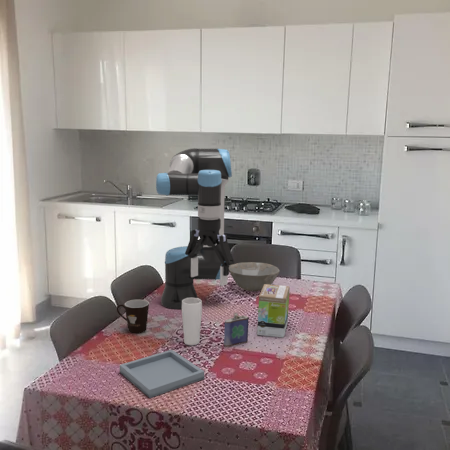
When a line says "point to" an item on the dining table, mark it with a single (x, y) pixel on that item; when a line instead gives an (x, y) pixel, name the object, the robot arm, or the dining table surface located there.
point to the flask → (236, 330)
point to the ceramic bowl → (253, 275)
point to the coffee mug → (136, 315)
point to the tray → (161, 373)
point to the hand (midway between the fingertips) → (208, 280)
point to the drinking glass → (191, 320)
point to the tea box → (273, 310)
